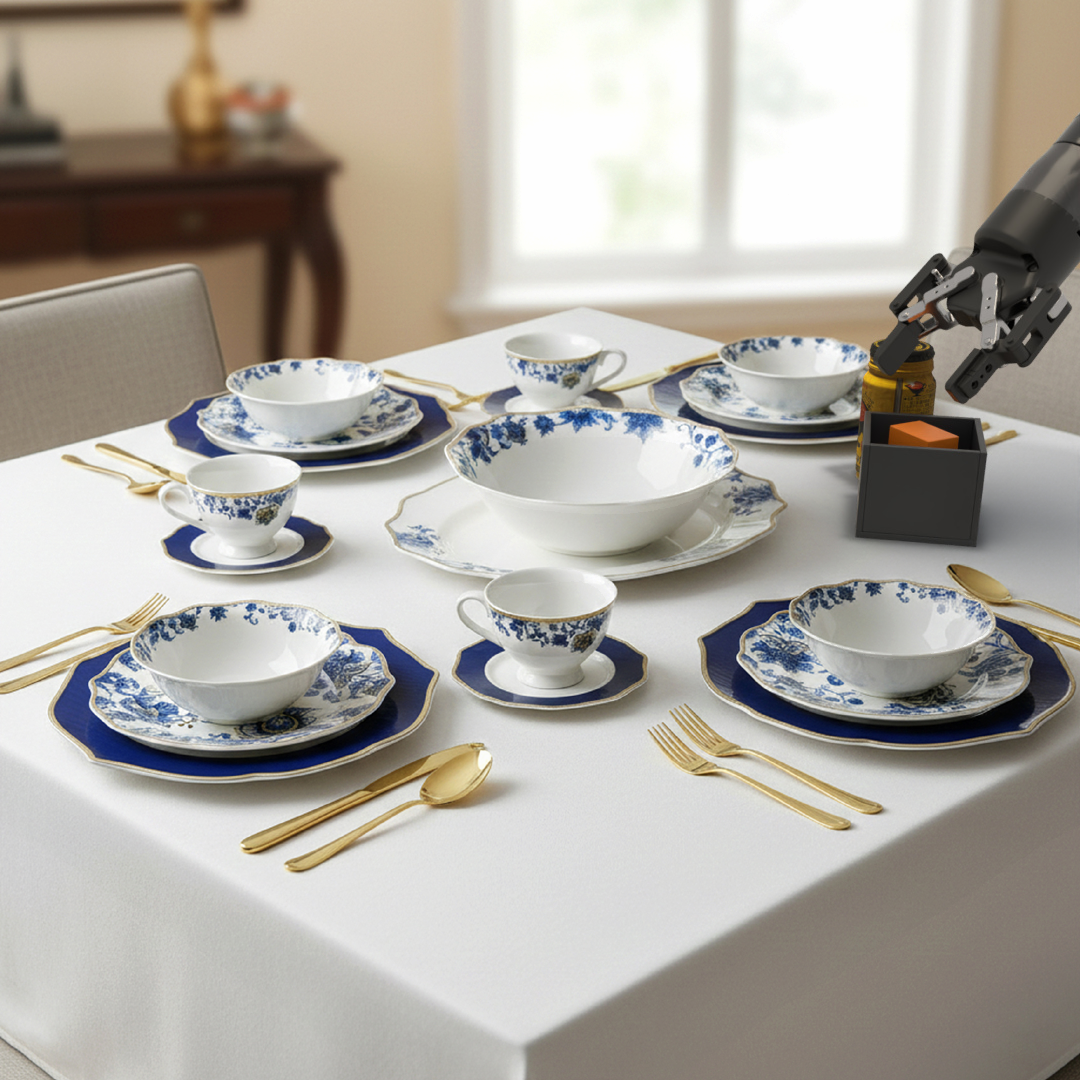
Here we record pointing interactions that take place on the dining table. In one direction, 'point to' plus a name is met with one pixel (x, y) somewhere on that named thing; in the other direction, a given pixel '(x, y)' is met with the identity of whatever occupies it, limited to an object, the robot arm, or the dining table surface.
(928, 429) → the block
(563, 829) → the dining table surface
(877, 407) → the condiment
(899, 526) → the bin
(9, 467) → the dining table surface
